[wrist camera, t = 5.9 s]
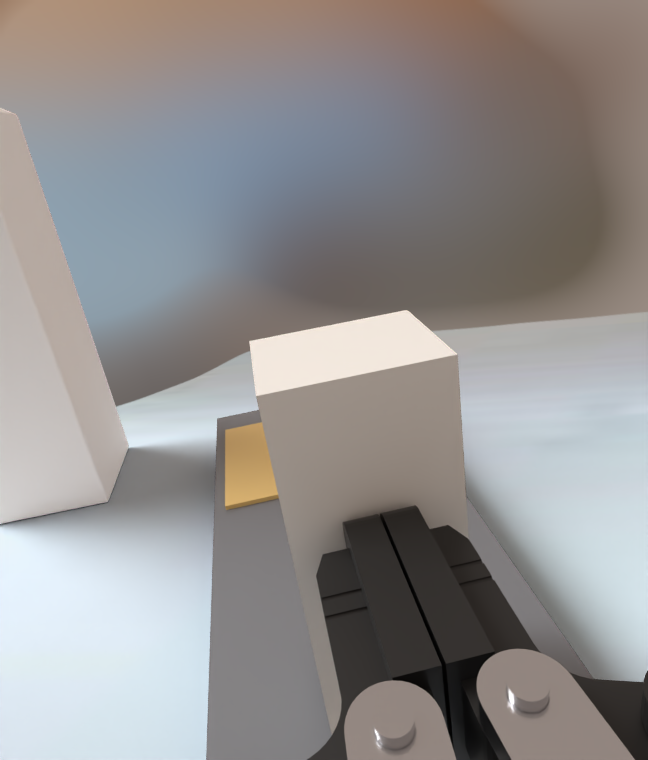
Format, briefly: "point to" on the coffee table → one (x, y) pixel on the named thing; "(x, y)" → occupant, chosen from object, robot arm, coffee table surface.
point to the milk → (46, 360)
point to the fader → (358, 441)
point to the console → (294, 612)
